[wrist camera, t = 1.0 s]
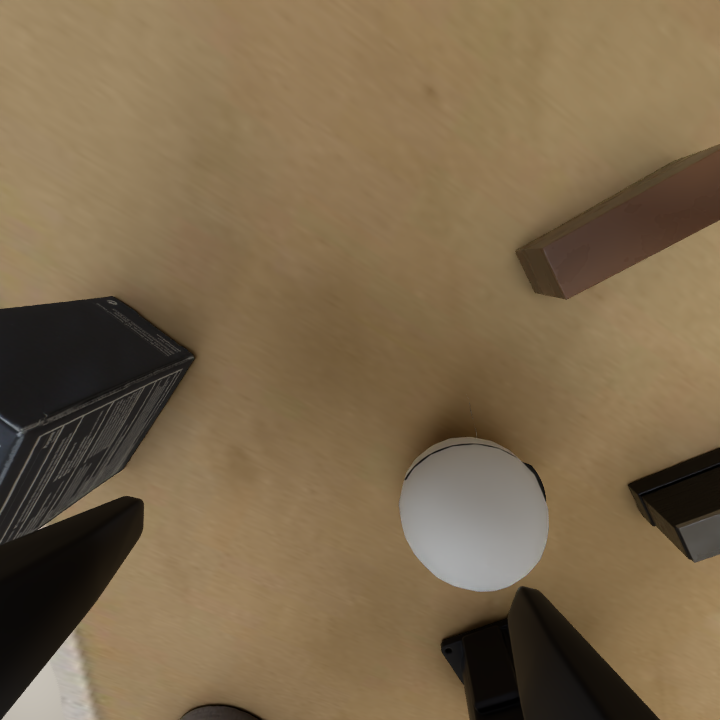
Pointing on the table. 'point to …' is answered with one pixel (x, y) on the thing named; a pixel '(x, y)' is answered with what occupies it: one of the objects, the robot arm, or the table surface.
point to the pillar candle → (217, 714)
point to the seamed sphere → (474, 513)
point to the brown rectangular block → (626, 227)
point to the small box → (75, 401)
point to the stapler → (685, 504)
